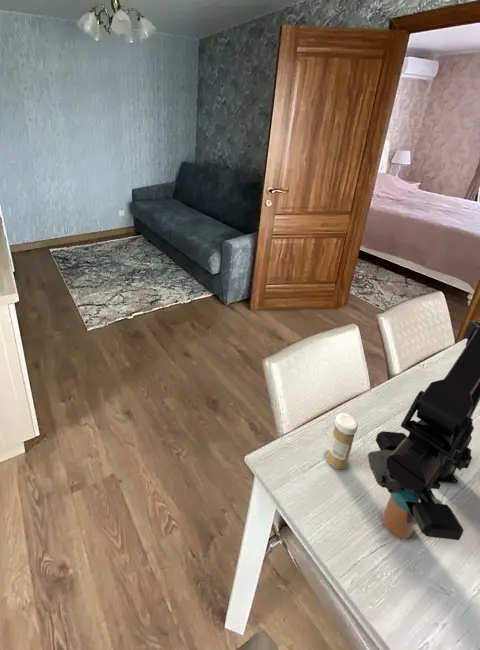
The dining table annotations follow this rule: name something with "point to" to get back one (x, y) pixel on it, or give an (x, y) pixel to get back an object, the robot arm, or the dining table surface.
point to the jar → (397, 520)
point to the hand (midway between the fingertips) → (402, 506)
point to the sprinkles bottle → (342, 440)
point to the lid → (405, 498)
